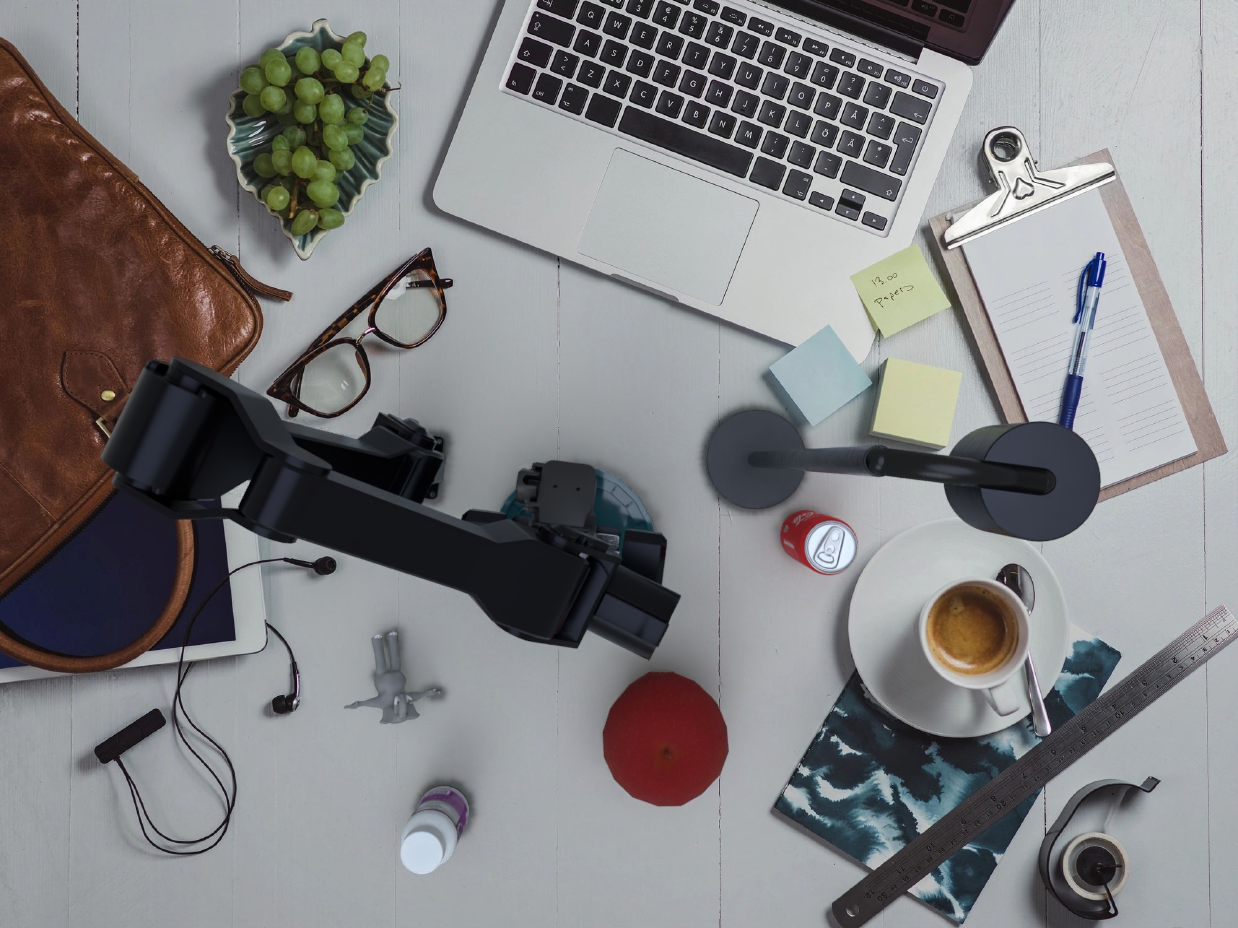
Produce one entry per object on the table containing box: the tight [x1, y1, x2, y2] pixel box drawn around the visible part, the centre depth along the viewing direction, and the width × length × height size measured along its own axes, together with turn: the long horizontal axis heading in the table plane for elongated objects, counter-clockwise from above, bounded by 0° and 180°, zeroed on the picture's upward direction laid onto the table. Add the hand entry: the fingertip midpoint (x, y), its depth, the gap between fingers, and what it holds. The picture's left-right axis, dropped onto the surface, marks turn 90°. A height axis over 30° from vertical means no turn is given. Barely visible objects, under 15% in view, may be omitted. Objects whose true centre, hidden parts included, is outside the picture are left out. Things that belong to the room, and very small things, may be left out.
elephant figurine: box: [343, 631, 441, 725], centre depth 84 cm, size 10×6×9 cm
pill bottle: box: [399, 785, 470, 875], centre depth 82 cm, size 5×5×10 cm
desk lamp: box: [704, 409, 1102, 543], centre depth 63 cm, size 16×10×45 cm, turn 83°
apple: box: [602, 671, 730, 808], centre depth 79 cm, size 12×12×13 cm
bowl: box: [499, 466, 655, 557], centre depth 84 cm, size 16×16×4 cm
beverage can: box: [779, 509, 859, 576], centre depth 80 cm, size 5×5×12 cm
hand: (569, 545), depth 84 cm, fingers closed on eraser, 3 cm apart
